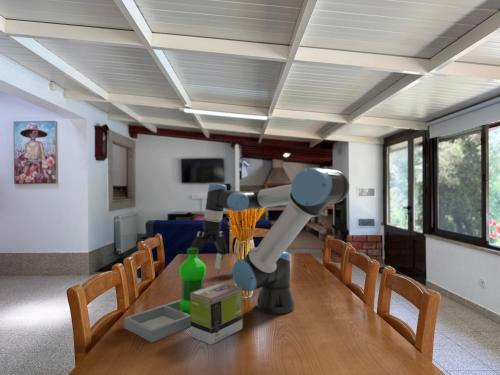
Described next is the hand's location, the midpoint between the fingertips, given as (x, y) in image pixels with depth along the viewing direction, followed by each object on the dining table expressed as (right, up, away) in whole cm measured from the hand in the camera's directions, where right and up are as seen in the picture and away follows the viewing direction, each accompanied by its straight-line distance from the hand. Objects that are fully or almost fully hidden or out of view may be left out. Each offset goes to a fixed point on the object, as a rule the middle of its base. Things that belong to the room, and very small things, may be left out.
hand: (205, 270), depth 138 cm
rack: (-8, -14, -18) cm, 24 cm away
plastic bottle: (-3, -14, -12) cm, 19 cm away
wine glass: (+14, -14, +47) cm, 51 cm away
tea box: (+8, -14, -29) cm, 33 cm away
